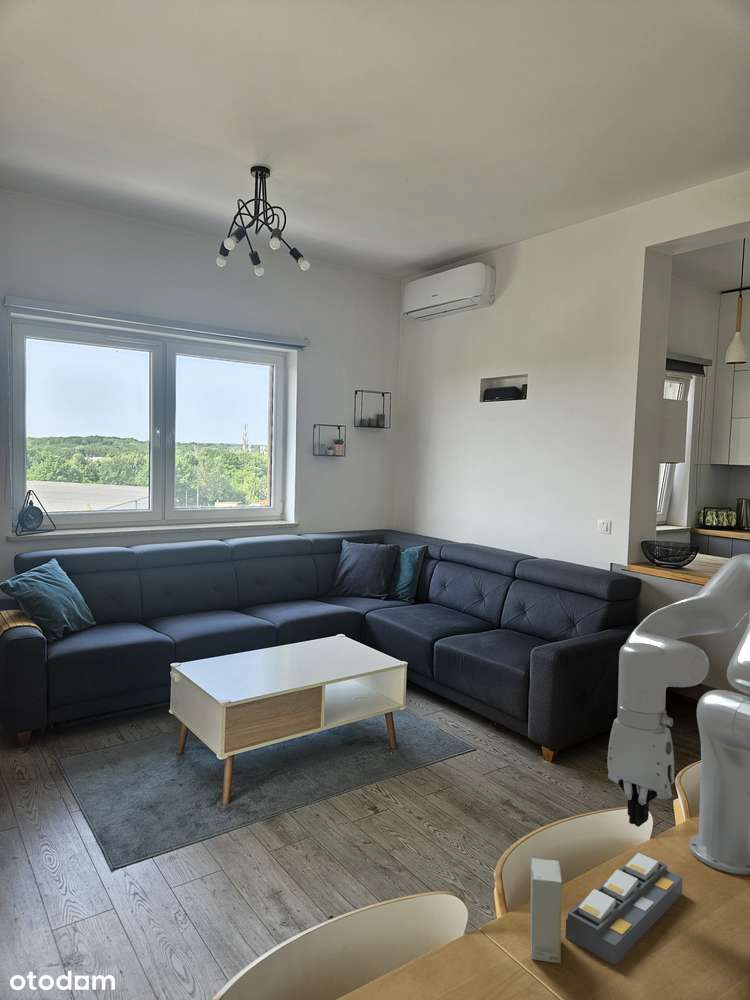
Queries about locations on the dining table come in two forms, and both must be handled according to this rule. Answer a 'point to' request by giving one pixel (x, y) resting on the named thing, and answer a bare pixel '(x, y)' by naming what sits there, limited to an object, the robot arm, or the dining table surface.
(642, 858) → the plate
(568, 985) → the dining table surface
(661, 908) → the switch unit
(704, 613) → the robot arm
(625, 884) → the block
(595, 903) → the block
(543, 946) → the skincare box
